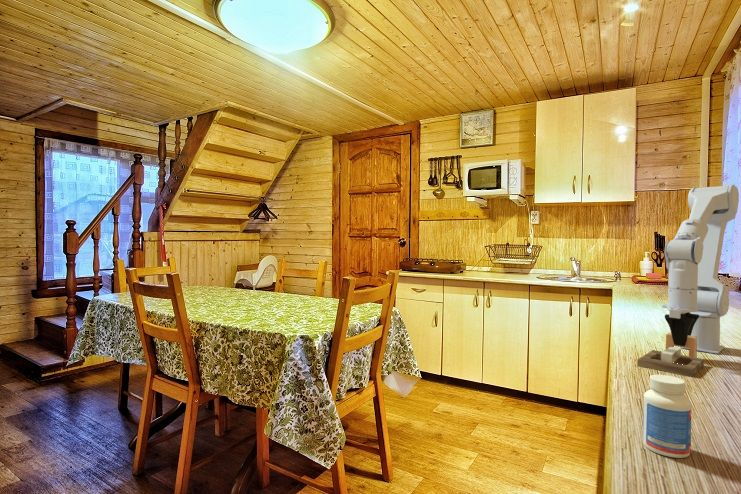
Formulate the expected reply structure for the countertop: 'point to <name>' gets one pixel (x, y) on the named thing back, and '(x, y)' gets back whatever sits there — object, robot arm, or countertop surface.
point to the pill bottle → (667, 417)
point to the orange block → (689, 344)
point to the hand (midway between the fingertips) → (681, 344)
